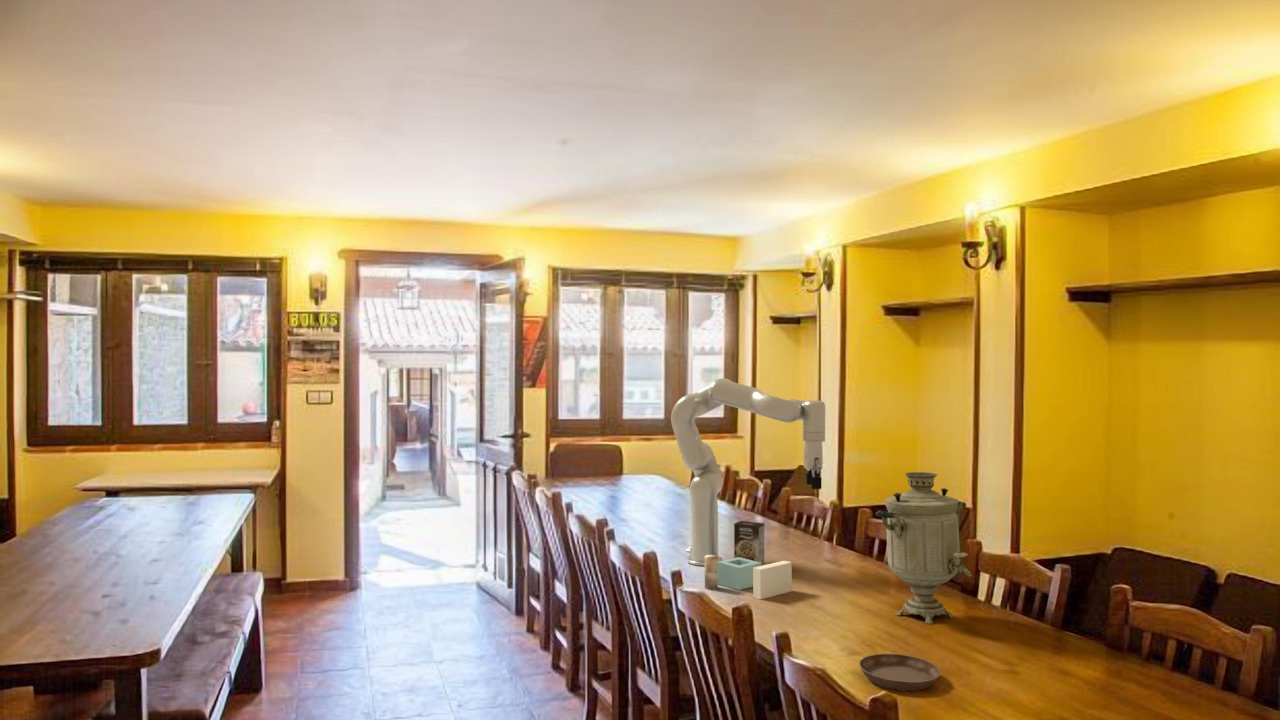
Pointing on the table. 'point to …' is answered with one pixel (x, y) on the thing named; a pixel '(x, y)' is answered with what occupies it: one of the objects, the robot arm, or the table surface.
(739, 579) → the green square container
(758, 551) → the coffee box
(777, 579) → the block
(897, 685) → the plant saucer
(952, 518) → the samovar
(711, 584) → the dowel
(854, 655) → the table surface
